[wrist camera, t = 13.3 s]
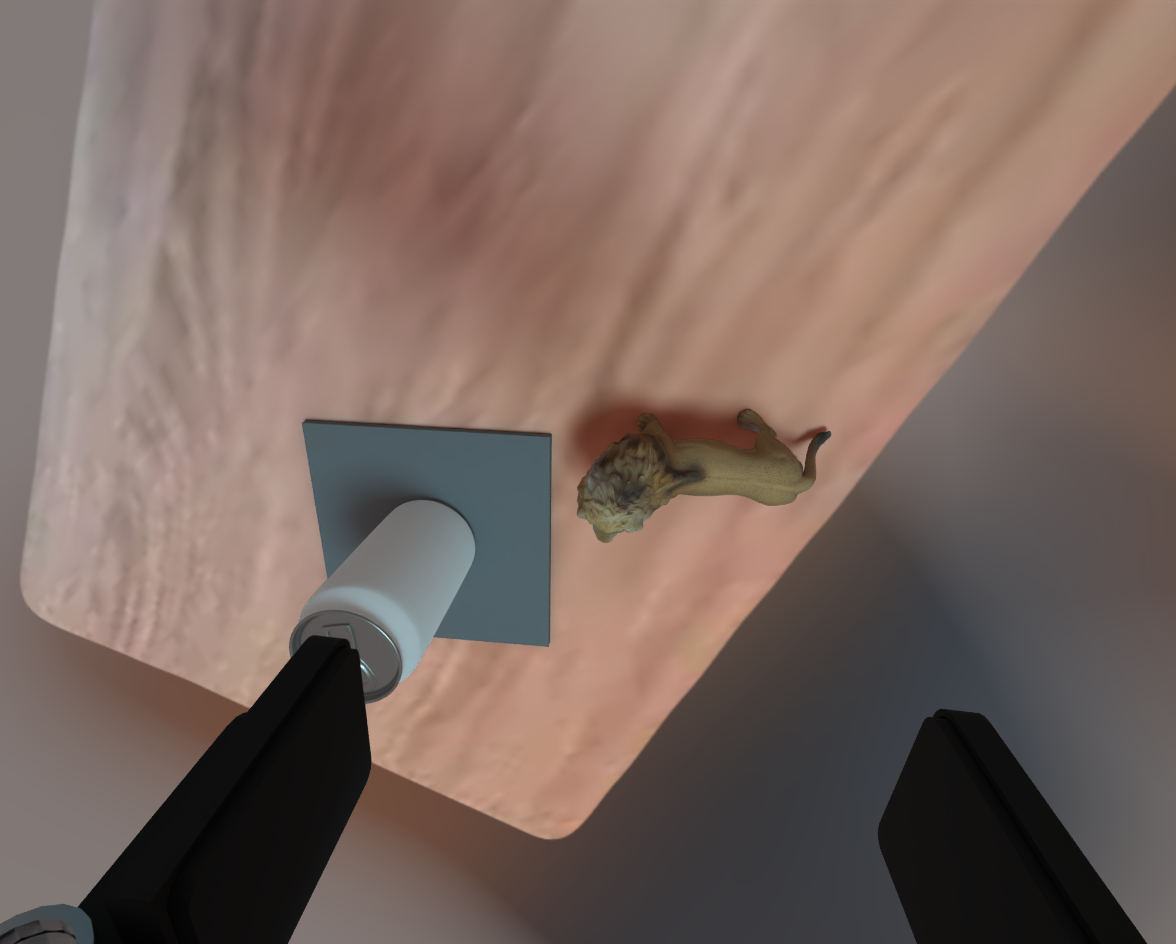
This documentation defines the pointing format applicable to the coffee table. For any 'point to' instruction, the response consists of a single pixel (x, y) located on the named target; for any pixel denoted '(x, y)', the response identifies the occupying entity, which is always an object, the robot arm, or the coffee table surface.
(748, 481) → the lion figurine
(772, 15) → the coffee table surface
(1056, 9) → the coffee table surface
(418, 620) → the can
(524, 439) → the mat
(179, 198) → the coffee table surface
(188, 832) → the robot arm
